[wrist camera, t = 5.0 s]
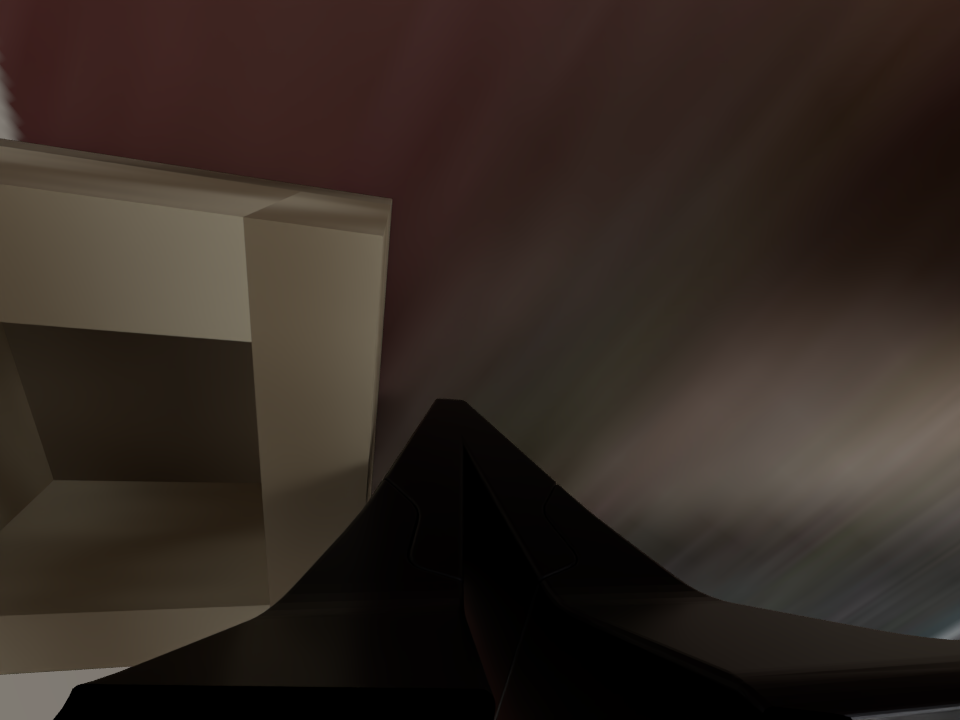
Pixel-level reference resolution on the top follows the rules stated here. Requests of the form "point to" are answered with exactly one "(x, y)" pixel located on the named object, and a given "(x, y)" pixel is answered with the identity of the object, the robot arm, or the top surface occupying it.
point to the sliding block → (174, 397)
